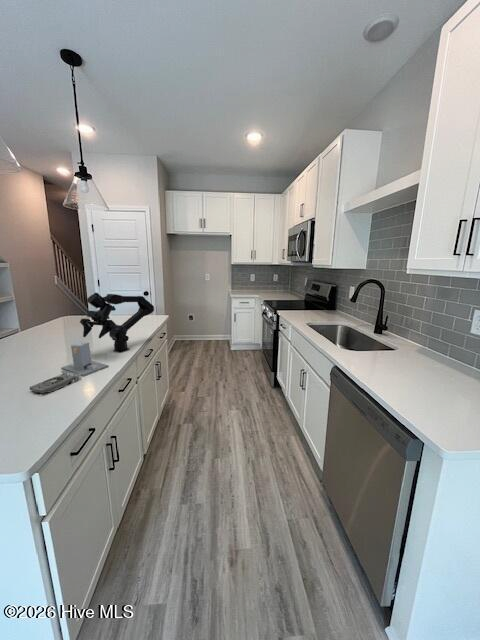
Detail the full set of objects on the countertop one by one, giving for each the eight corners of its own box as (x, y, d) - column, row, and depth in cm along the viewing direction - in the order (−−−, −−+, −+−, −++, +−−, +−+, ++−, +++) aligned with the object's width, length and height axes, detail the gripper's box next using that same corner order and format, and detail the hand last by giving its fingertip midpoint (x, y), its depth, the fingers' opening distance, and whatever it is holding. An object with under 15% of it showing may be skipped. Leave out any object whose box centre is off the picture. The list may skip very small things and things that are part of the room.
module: (83, 365, 132) (80, 341, 129) (91, 366, 131) (88, 342, 128) (73, 370, 126) (69, 345, 123) (82, 371, 125) (78, 346, 122)
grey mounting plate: (86, 360, 141) (86, 356, 140) (108, 367, 132) (107, 362, 132) (61, 369, 130) (60, 364, 129) (83, 376, 121) (82, 371, 121)
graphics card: (63, 369, 122) (81, 372, 118) (64, 376, 123) (82, 380, 119) (23, 384, 107) (41, 389, 103) (25, 393, 108) (43, 398, 103)
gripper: (80, 303, 140) (65, 328, 131) (110, 305, 136) (98, 330, 128) (92, 315, 149) (80, 339, 141) (121, 316, 145) (110, 341, 137)
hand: (91, 337), depth 136 cm, fingers open, 9 cm apart
